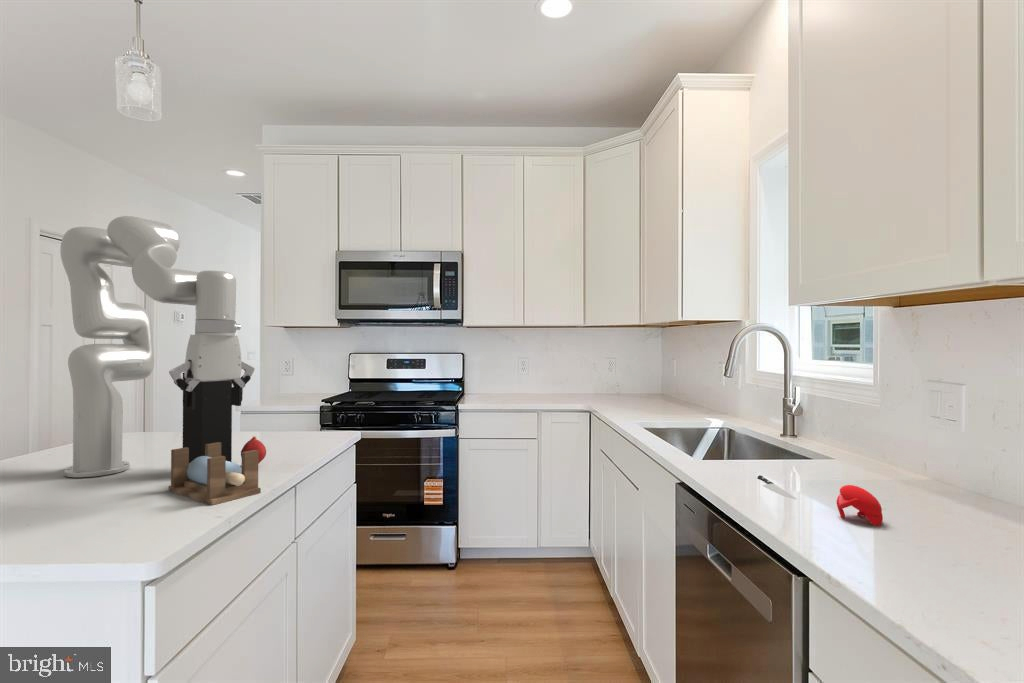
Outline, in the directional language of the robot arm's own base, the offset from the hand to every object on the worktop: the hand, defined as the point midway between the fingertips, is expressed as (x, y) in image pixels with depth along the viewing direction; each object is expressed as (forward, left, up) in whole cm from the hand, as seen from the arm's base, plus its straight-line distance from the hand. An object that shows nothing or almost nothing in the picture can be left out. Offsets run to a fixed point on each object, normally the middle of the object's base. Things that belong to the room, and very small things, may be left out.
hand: (213, 407), depth 110 cm
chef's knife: (+102, +71, -19) cm, 125 cm away
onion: (-14, +17, -18) cm, 28 cm away
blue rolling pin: (0, 0, -17) cm, 17 cm away
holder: (0, 0, -18) cm, 18 cm away
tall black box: (-19, +8, -18) cm, 27 cm away
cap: (+117, +57, -19) cm, 132 cm away
